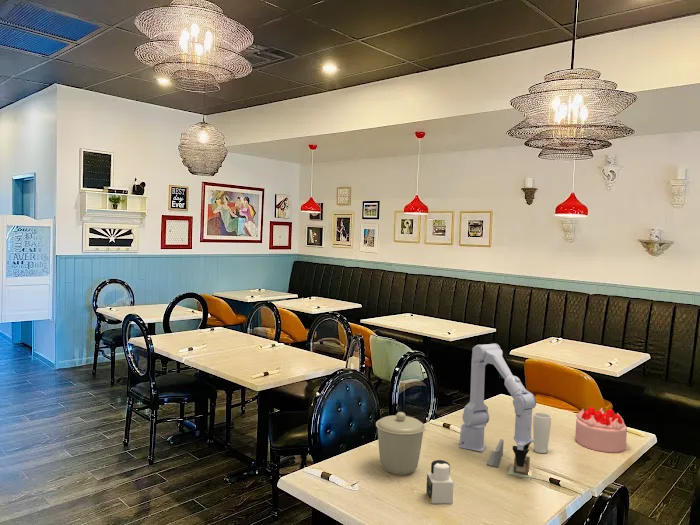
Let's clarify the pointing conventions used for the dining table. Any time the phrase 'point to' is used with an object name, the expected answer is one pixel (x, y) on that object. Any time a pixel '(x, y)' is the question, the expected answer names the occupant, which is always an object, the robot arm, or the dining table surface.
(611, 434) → the cake
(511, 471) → the pad
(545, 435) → the beige paper cup
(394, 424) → the canister
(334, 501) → the dining table surface
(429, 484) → the medicine bottle
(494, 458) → the grey block
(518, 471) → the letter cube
